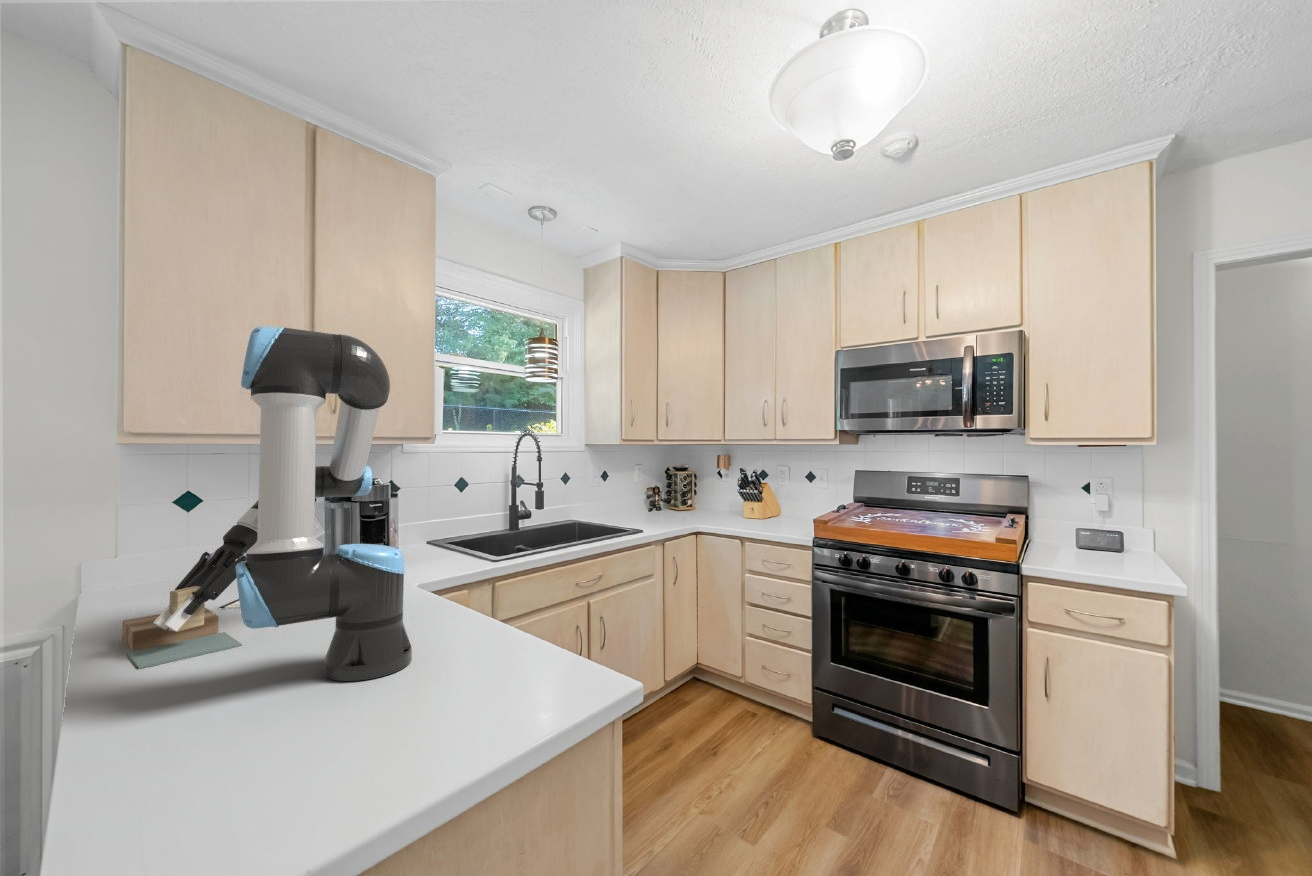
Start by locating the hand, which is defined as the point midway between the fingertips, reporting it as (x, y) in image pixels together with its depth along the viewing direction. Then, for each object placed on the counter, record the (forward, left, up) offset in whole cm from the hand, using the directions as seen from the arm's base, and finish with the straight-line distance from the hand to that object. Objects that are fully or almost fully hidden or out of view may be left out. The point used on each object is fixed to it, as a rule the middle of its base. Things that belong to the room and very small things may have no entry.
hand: (165, 626), depth 109 cm
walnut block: (+14, -3, -6) cm, 15 cm away
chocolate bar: (+35, -26, -6) cm, 44 cm away
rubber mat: (+1, -3, -6) cm, 7 cm away
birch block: (+1, -4, -1) cm, 4 cm away
